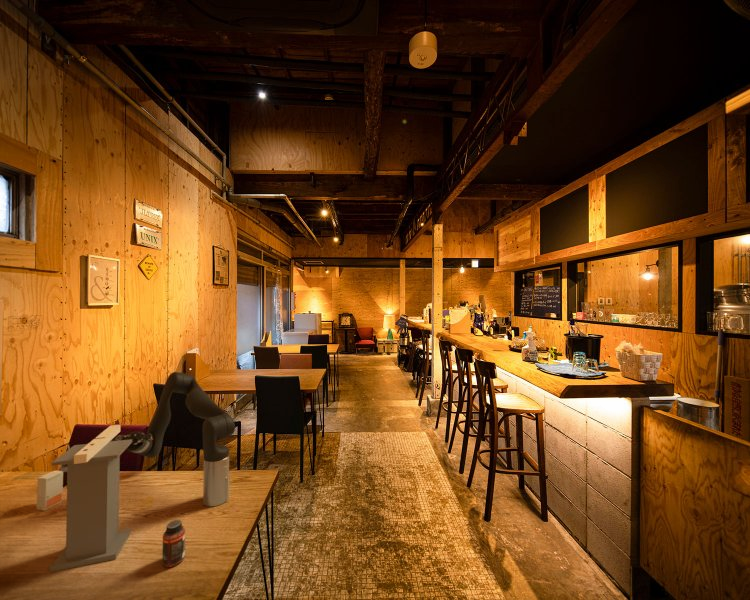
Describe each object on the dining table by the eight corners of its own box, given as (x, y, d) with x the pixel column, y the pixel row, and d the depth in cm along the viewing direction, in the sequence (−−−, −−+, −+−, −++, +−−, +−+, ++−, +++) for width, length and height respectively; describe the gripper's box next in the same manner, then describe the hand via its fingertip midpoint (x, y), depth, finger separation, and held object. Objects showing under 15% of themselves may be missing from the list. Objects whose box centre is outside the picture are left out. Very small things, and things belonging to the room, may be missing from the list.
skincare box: (44, 511, 124) (45, 479, 124) (36, 509, 124) (36, 477, 124) (63, 501, 130) (63, 471, 130) (54, 500, 130) (55, 469, 130)
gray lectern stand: (130, 533, 113) (132, 439, 113) (115, 559, 101) (117, 454, 101) (72, 543, 107) (74, 445, 108) (49, 572, 96) (51, 462, 96)
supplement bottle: (189, 556, 103) (190, 519, 103) (172, 570, 97) (172, 532, 97) (175, 551, 105) (175, 515, 105) (157, 565, 99) (158, 527, 99)
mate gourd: (69, 488, 139) (69, 452, 139) (50, 487, 139) (51, 452, 139) (85, 478, 146) (85, 444, 146) (67, 478, 146) (68, 444, 146)
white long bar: (120, 431, 119) (120, 424, 119) (86, 462, 96) (86, 453, 96) (110, 432, 118) (110, 425, 118) (73, 463, 95) (74, 454, 96)
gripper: (119, 435, 139) (104, 428, 126) (158, 431, 144) (147, 424, 130) (114, 454, 135) (99, 449, 122) (155, 449, 140) (143, 444, 127)
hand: (124, 436), depth 126 cm, fingers open, 8 cm apart
